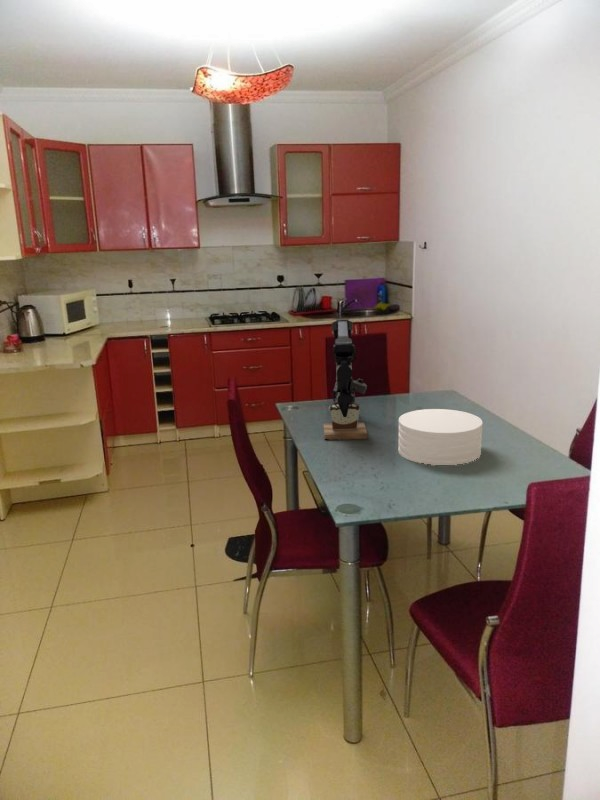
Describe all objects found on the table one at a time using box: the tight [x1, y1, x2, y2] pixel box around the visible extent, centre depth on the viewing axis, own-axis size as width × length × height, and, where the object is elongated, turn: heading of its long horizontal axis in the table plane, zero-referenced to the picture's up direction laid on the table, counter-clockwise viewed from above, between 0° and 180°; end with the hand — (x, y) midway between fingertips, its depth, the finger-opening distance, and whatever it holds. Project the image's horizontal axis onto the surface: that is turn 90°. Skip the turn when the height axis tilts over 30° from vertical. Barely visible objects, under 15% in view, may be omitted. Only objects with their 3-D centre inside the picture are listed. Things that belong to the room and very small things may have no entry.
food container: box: [328, 401, 362, 430], centre depth 227 cm, size 12×6×10 cm, turn 90°
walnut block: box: [322, 422, 368, 441], centre depth 228 cm, size 14×16×2 cm
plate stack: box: [397, 408, 484, 466], centre depth 205 cm, size 28×28×12 cm
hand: (344, 414), depth 226 cm, fingers closed on food container, 6 cm apart
